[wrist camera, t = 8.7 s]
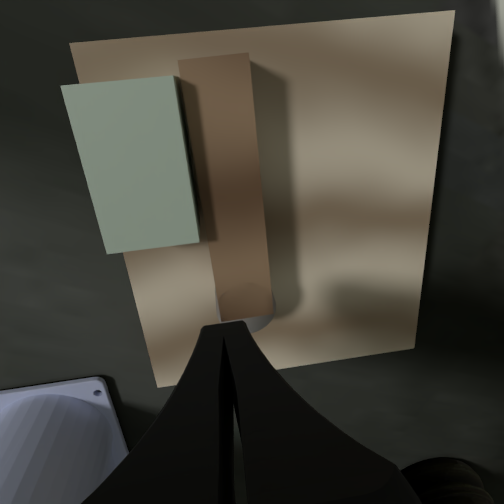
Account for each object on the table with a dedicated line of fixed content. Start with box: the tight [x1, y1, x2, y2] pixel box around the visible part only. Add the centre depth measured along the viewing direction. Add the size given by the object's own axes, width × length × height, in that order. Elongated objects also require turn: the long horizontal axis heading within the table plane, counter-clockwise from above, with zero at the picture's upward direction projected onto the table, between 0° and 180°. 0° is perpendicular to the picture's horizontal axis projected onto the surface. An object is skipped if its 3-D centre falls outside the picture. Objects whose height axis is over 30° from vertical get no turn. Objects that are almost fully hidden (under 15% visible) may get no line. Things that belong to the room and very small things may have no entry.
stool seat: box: [69, 10, 455, 388], centre depth 19 cm, size 18×16×2 cm
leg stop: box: [61, 75, 200, 254], centre depth 15 cm, size 6×4×3 cm, turn 5°
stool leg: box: [177, 52, 276, 333], centre depth 16 cm, size 12×3×2 cm, turn 6°
